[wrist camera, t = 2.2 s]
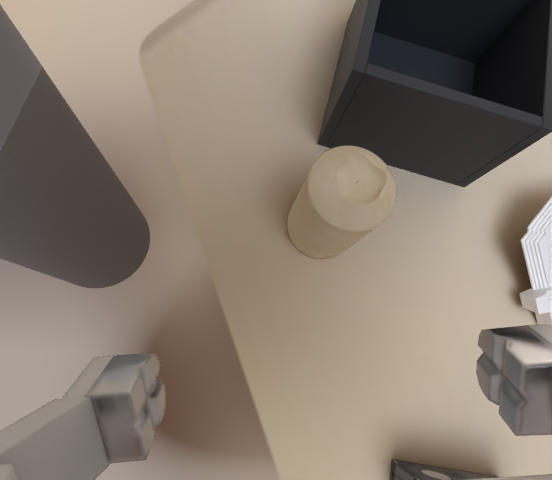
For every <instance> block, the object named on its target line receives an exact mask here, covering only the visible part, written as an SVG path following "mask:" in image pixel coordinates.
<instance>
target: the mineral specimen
mask: <svg viewBox="0 0 552 480" xmlns="http://www.w3.org/2000/svg"><path fill="white" fill-rule="evenodd" d="M527 230H528V231H527V232H526V233H525V235H524V236H523V237H522V238H521V244H522V249H523V253H524V257H525V261H526V266H527V270H528V274H529V278H530V282H531V287H532V288H531V289H528V290H526V291H524V292H521V293H519V294H520V298H521V302H522V306H523V308H524V309H527V310H530V311H532V312H535V315H536V319H537V324H543V323H545V324H548V325H551V326H552V196H551V197H550V198H549V200H548V201H547V202H546V204H545V205H544V206H543V207H542V209H541V210H540V211H539V213H538V214H537V215H536V216H535V218H534V219H533V220H532V222H531V223H530V224H529V225H528V227H527Z"/></svg>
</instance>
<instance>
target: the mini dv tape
mask: <svg viewBox="0 0 552 480" xmlns="http://www.w3.org/2000/svg"><path fill="white" fill-rule="evenodd" d="M483 478H499V477H496V476H490V475H484V474H478V473H472V472H466V471H460V470H454V469H447V468H441V467H435V466H429V465H423V464H417V463H411V462H405V461H399V460H392V468H391V480H467V479H483Z"/></svg>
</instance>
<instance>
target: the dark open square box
mask: <svg viewBox="0 0 552 480" xmlns="http://www.w3.org/2000/svg"><path fill="white" fill-rule="evenodd" d="M551 132H552V0H356V2H355V4H354V7H353V10H352V12H351V15H350V17H349V20H348V23H347V27H346V31H345V35H344V39H343V43H342V47H341V51H340V55H339V59H338V63H337V67H336V71H335V75H334V79H333V83H332V88H331V92H330V96H329V100H328V104H327V108H326V112H325V116H324V120H323V124H322V128H321V132H320V136H319V140H318V144H319V145H323V146H326V147H330V148H335V147H339V146H357V147H361V148H364V149H366V150H369V151H371V152H372V153H374V154H375V155H377V156H378V157H379V158H381V159H382V160H383V161H384V163H385V164H387V165H391V166H394V167H398V168H401V169H404V170H408V171H411V172H415V173H418V174H421V175H425V176H428V177H432V178H435V179H438V180H442V181H445V182H449V183H452V184H455V185H459V186H462V187H466V186H467V185H468V184H470V183H472V182H473V181H475V180H476V179H478V178H480V177H481V176H483V175H484V174H486V173H487V172H489V171H491V170H492V169H494V168H495V167H497V166H498V165H500V164H502V163H503V162H505V161H506V160H508V159H510V158H511V157H513V156H514V155H516V154H517V153H519V152H521V151H522V150H524V149H525V148H527V147H528V146H530V145H532V144H533V143H535V142H536V141H538V140H540V139H541V138H543V137H544V136H546V135H547V134H549V133H551Z"/></svg>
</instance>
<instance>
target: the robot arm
mask: <svg viewBox="0 0 552 480" xmlns="http://www.w3.org/2000/svg"><path fill="white" fill-rule="evenodd" d="M478 345H479V347H480V348H481V349H482V351H483V352H484V353H483V354H482V355H481V356H480V357H479V359H478V360H477V370H476V373H477V377H478V382H479V385H480V387H481V389H482V391H483V393H484V394H485V396H486V397H487V399H488V400H490V401H492V402H493V403H495V404H497V405H499V415H500V416H501V417H502V418H503V420H504V421H505V422H506V424H507V425H508V426H509V428H510V429H511V430H512V431H513V433H514V434H515V435H516V436H524V435H552V326H551V325H548V324H545V323H543V324H534V325H525V326H516V327H506V328H496V329H486V330H481V332H480V335H479V341H478ZM160 368H161V367H160V363H159V359H158V357H157V355H155V354H154V353H153V354H133V355H117V356H115V355H112V356H102V357H96V358H94V359H92V361H91V362H90V363H89V364H88V366H87V367H86V368H85V369H84V371H83V372H82V373H81V374H80V376H79V377H78V378H77V380H76V381H75V382H74V383H73V385H72V386H71V387H70V389H69V390H68V391H67V392H66V393H65V395H64V396H63V397H62V399H55V400H53V401H51V402H49V403H48V404H46V405H44V406H42V407H41V408H39V409H37V410H36V411H34V412H32V413H31V414H29V415H27V416H25V417H24V418H22V419H20V420H18V421H17V422H15V423H13V424H12V425H10V426H8V427H6V428H4V429H3V430H1V431H0V480H95V479H96V478H97V477H98V476H99V475H100V474H101V473H102V472H103V471H104V470H105V469H106V468H107V467H108V466H109V463H119V462H129V461H140V460H146V459H147V456H148V453H149V451H150V448H151V446H152V443H153V441H154V438H155V434H154V429H153V428H154V427H155V426H157V425H158V424H159V423H160V422H161V420H162V417H163V415H164V411H165V403H166V394H165V387H164V383H163V382H162V381H161V380H160V379H159V378H158V377H157V375H158V373H159V370H160ZM467 480H552V474H548V475H532V476H516V477H499V478H483V479H467Z"/></svg>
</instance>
